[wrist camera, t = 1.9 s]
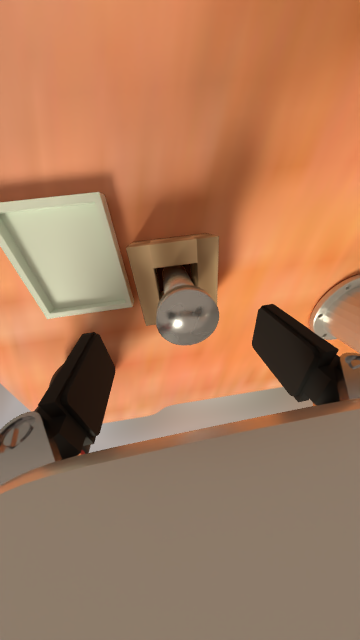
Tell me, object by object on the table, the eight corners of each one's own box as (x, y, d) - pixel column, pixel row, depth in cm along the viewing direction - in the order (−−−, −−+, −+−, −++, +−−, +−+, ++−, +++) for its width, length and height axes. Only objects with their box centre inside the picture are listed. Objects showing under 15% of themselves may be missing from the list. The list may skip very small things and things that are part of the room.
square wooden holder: (206, 233, 20) (218, 236, 15) (206, 299, 24) (216, 315, 20) (133, 242, 19) (125, 247, 15) (148, 307, 24) (146, 325, 20)
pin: (189, 254, 21) (220, 286, 10) (191, 287, 23) (218, 340, 13) (154, 258, 20) (150, 296, 10) (160, 291, 23) (161, 349, 13)
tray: (104, 194, 17) (98, 191, 15) (134, 301, 23) (132, 307, 22) (-9, 206, 16) (-27, 205, 15) (54, 312, 23) (47, 318, 21)
